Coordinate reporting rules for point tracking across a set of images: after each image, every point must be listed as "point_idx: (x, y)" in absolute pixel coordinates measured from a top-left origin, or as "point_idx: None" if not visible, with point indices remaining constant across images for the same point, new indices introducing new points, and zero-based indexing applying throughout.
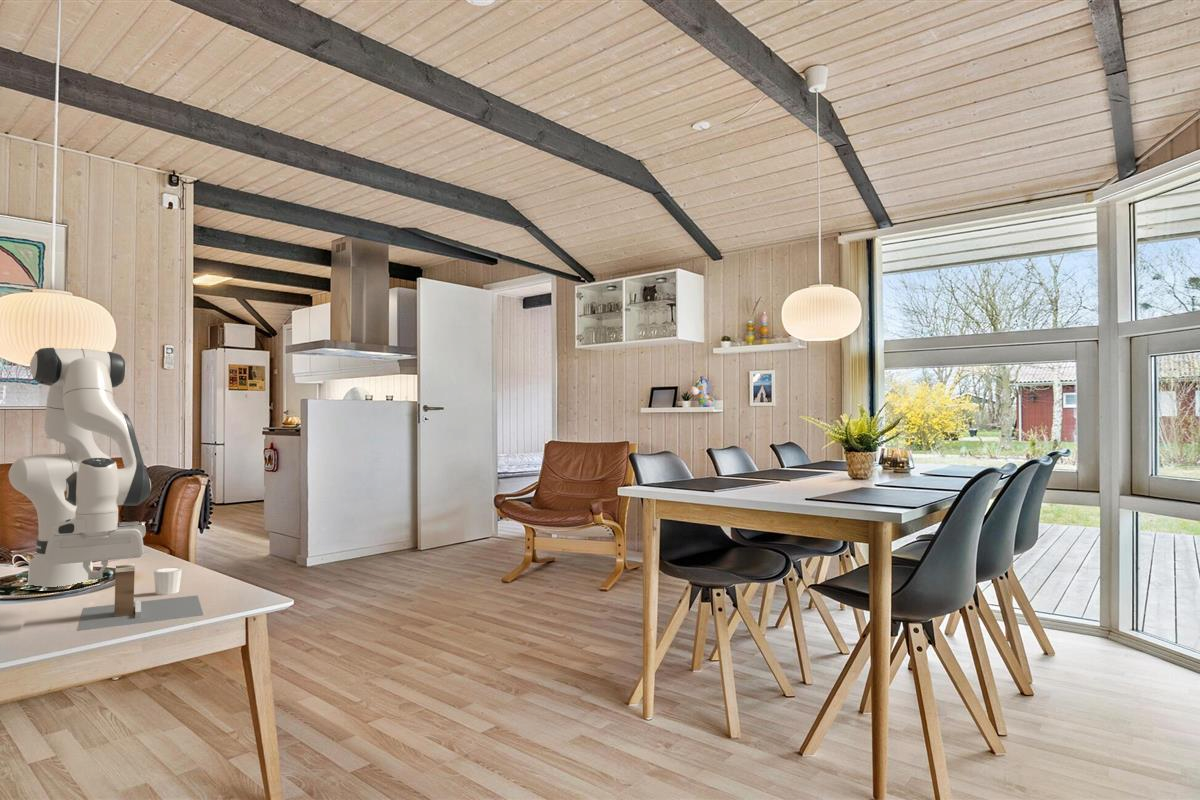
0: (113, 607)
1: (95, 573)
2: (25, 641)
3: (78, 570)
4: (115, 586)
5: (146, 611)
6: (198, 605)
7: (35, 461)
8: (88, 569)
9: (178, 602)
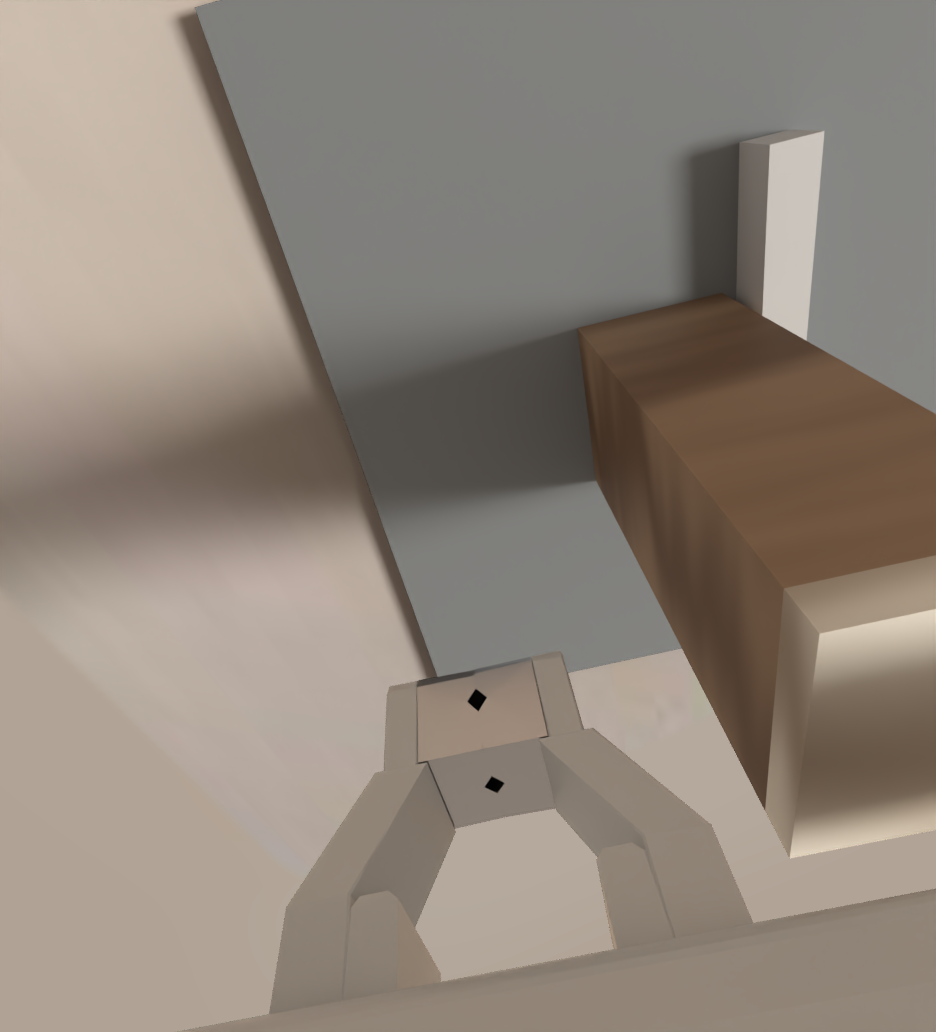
0: (532, 109)
1: (506, 803)
2: (239, 751)
3: None
4: (690, 655)
5: None
6: None
7: None
8: (420, 898)
9: None
